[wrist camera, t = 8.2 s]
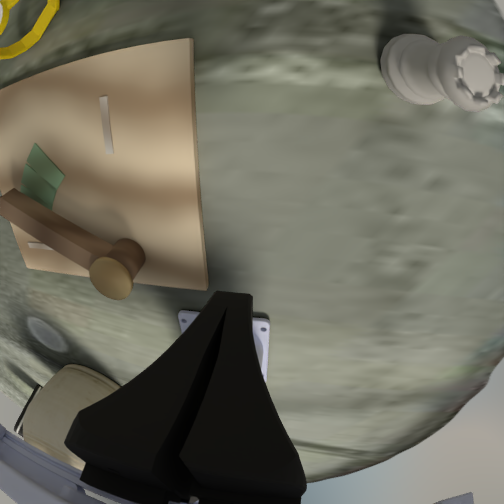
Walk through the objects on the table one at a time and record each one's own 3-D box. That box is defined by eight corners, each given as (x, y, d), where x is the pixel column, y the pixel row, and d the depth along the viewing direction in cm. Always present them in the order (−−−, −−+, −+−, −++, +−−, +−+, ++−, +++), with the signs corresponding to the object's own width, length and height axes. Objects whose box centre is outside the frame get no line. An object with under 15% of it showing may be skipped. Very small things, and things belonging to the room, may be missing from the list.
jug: (90, 349, 34) (10, 520, 13) (163, 414, 40) (119, 561, 20) (40, 358, 39) (-25, 481, 18) (103, 413, 46) (59, 528, 25)
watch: (59, -17, 12) (7, -28, 7) (77, -4, 13) (24, -16, 8) (18, 46, 15) (-36, 50, 10) (33, 61, 16) (-22, 67, 10)
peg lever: (154, 247, 22) (135, 276, 20) (143, 278, 24) (125, 307, 21) (21, 175, 20) (-6, 192, 17) (19, 207, 22) (-5, 226, 19)
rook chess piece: (362, 57, 14) (410, 50, 8) (415, 22, 12) (485, 4, 6) (406, 116, 16) (471, 151, 9) (456, 81, 14) (535, 101, 7)
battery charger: (48, 401, 50) (28, 442, 40) (34, 390, 49) (12, 431, 39) (53, 394, 46) (30, 439, 37) (37, 383, 45) (13, 427, 36)
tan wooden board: (208, 284, 25) (206, 291, 24) (31, 263, 27) (26, 268, 26) (193, 38, 15) (188, 37, 14) (-11, 95, 17) (-18, 98, 16)
